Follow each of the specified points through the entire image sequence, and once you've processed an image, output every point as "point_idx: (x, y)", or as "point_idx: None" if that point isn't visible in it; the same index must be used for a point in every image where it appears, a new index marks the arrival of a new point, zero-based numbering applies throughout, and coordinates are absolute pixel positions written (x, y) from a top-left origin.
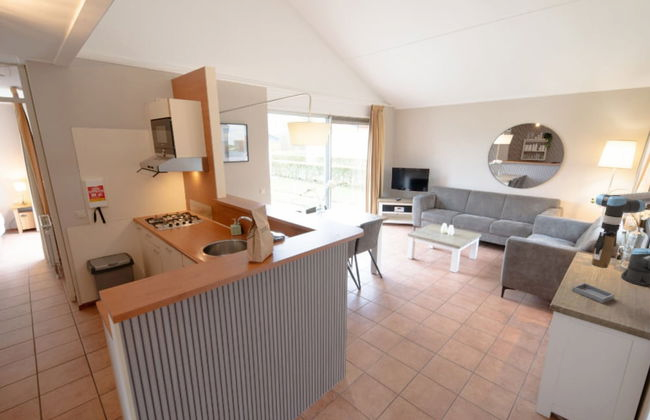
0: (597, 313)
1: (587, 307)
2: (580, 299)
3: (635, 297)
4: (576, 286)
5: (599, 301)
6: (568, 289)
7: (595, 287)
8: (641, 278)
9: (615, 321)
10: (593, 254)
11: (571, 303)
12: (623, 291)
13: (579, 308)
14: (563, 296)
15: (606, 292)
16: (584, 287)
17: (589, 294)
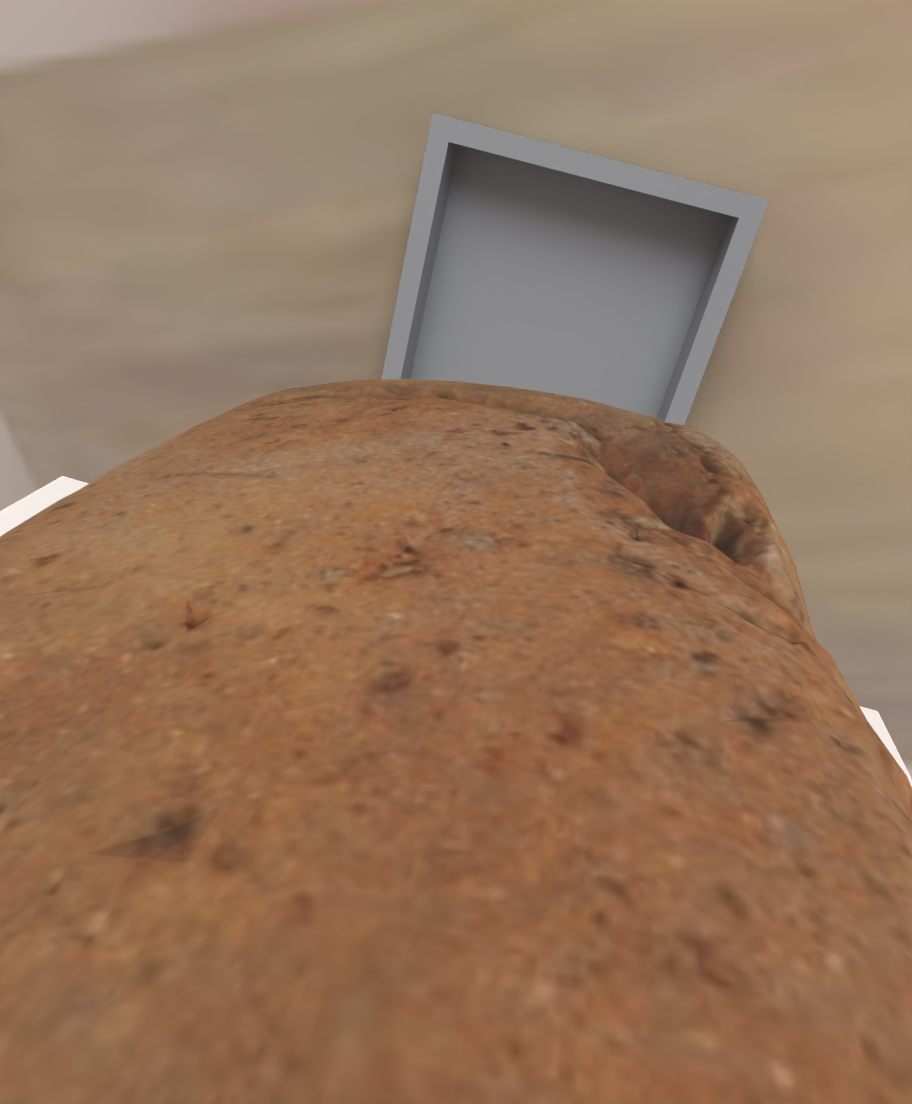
0: (98, 474)
1: (135, 380)
2: (270, 276)
3: (884, 703)
4: (492, 150)
5: None
6: (461, 61)
7: (692, 364)
8: None
9: None
10: (100, 484)
11: (62, 228)
12: None
13: (31, 325)
14: (158, 91)
15: None
16: (706, 223)
17: (389, 348)
